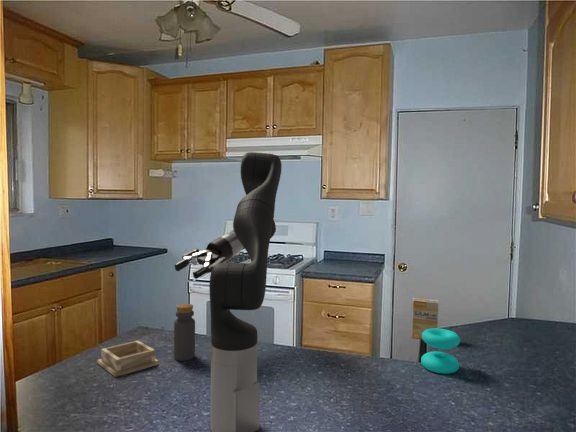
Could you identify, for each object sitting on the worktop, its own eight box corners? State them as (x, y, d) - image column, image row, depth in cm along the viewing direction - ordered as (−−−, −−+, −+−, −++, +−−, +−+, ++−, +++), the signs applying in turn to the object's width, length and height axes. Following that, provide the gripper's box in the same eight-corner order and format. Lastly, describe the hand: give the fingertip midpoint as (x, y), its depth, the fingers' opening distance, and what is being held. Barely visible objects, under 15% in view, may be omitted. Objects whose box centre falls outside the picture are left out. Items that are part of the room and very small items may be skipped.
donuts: (414, 329, 118) (439, 325, 122) (413, 364, 118) (438, 358, 123) (442, 340, 109) (468, 335, 114) (440, 378, 110) (467, 371, 114)
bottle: (172, 354, 122) (172, 304, 122) (192, 352, 125) (192, 302, 124) (176, 362, 117) (176, 309, 116) (196, 359, 119) (197, 307, 119)
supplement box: (411, 339, 140) (412, 300, 139) (411, 334, 144) (412, 297, 144) (437, 342, 137) (438, 302, 137) (436, 337, 142) (437, 299, 141)
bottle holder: (158, 364, 115) (158, 350, 115) (115, 377, 107) (115, 361, 107) (139, 352, 124) (139, 339, 124) (97, 363, 115) (97, 348, 115)
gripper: (208, 232, 134) (166, 255, 123) (239, 241, 126) (197, 266, 114) (212, 252, 137) (172, 276, 126) (243, 263, 129) (203, 289, 118)
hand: (184, 272), depth 120 cm, fingers open, 8 cm apart
